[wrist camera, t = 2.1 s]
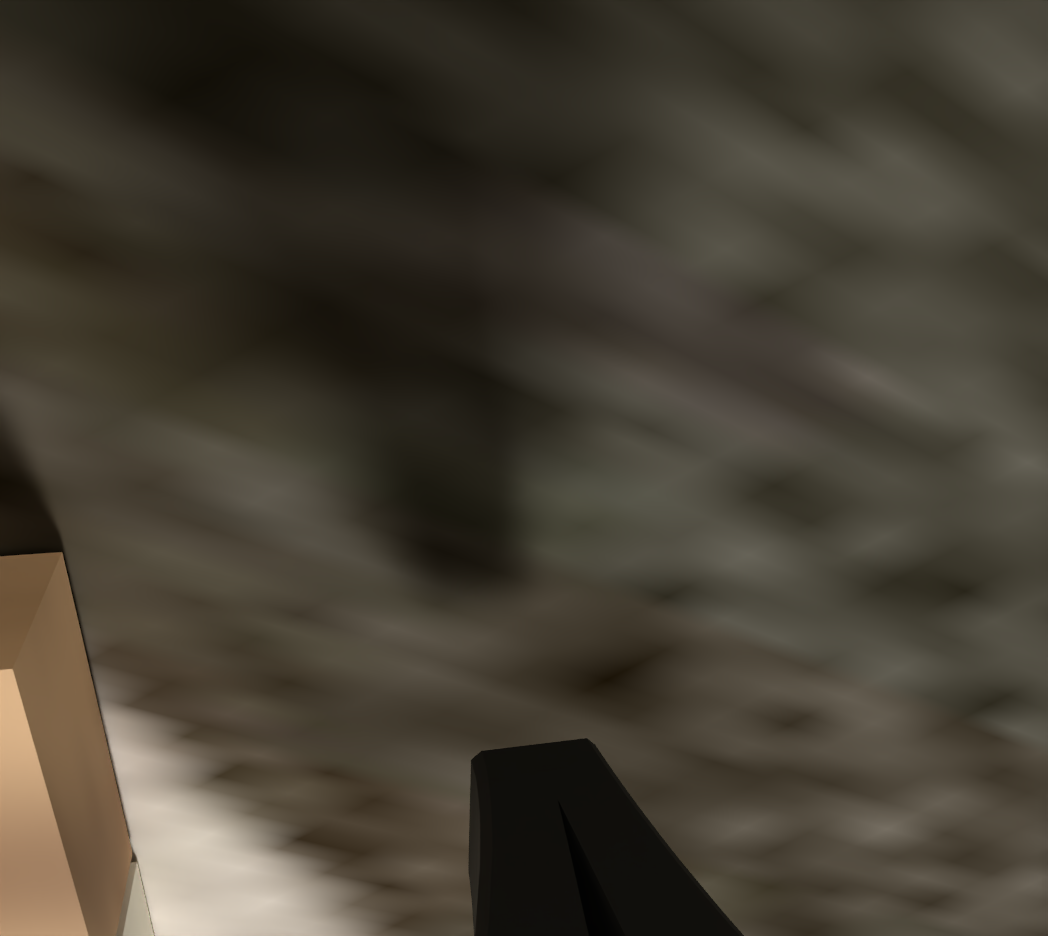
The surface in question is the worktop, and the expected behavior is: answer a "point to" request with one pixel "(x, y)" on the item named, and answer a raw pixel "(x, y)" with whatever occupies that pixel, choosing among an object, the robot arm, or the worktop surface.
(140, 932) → the board
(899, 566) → the worktop surface
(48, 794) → the tan flat block
